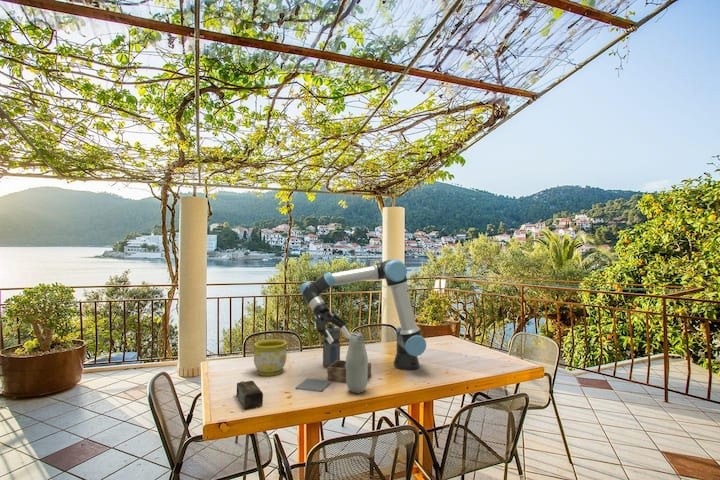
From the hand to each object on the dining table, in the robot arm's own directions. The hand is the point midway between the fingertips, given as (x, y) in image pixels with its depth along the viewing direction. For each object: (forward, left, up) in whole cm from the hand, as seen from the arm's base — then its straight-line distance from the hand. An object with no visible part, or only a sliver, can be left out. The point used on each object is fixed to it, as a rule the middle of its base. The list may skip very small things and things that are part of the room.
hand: (340, 340), depth 174 cm
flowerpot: (+46, -11, -23) cm, 53 cm away
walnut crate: (0, -14, -23) cm, 27 cm away
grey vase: (-9, +3, -23) cm, 25 cm away
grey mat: (+14, +1, -23) cm, 27 cm away
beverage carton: (+34, +27, -24) cm, 50 cm away
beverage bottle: (+17, -31, -23) cm, 42 cm away
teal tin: (+1, -16, -22) cm, 27 cm away
